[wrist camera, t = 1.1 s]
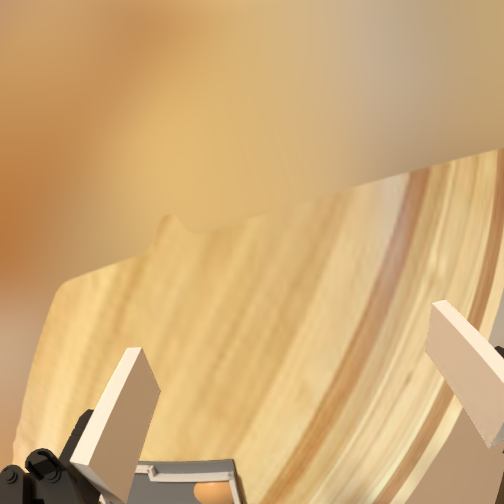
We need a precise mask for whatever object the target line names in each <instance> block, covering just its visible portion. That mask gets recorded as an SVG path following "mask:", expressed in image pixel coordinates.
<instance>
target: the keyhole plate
mask: <svg viewBox="0 0 504 504" xmlns="http://www.w3.org/2000/svg"><path fill="white" fill-rule="evenodd" d="M100 500H101V502H102V504H121V503H115V502H110V501H108V500H107V499H106V498H104V497H103V496H102V495H100ZM126 504H243V503H242V499H241V494H240V490H239V486H238V481H237V477H236V473H235V468H234V463H233V459H225V460H210V461H186V462H153V461H138V464H137V468H136V471H135V474H134V478H133V481H132V485H131V488H130V491H129V495H128V498H127V502H126Z"/></svg>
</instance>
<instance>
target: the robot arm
mask: <svg viewBox="0 0 504 504" xmlns="http://www.w3.org/2000/svg"><path fill="white" fill-rule="evenodd" d="M425 352H426V353H427V354H428V356H429V357H430V359H431V360H432V361H433V363H434V364H435V366H436V367H437V369H438V370H439V371H440V373H441V374H442V376H443V377H444V379H445V380H446V382H447V383H448V385H449V386H450V388H451V389H452V391H453V392H454V394H455V395H456V397H457V398H458V400H459V401H460V403H461V404H462V406H463V408H464V409H465V411H466V412H467V414H468V415H469V417H470V419H471V420H472V422H473V423H474V425H475V427H476V428H477V430H478V431H479V433H480V435H481V436H482V438H483V440H484V441H485V443H486V445H487V446H488V448H490V447H492V446H494V445H496V444H498V443H500V442H501V441H503V440H504V348H502V347H500V346H497V347H495V348H493V347H492V346H491V345H490V344H489V343H488V342H487V341H486V339H485V338H484V337H483V336H482V335H481V334H480V333H479V332H478V331H477V330H476V329H475V328H474V327H473V326H472V325H471V324H470V323H469V322H468V321H467V320H466V319H465V318H464V317H463V316H462V315H461V314H460V313H459V312H458V311H457V310H456V309H455V308H454V307H453V306H451V305H450V304H449V303H448V302H447V301H446V300H442V301H438V302H434V303H432V308H431V316H430V324H429V331H428V337H427V343H426V349H425ZM160 392H161V391H160V388H159V386H158V384H157V382H156V379H155V377H154V375H153V372H152V370H151V368H150V365H149V363H148V361H147V358H146V356H145V353H144V351H143V348H142V347H136V348H127V350H126V351H125V353H124V355H123V357H122V359H121V360H120V362H119V364H118V366H117V368H116V370H115V372H114V373H113V375H112V377H111V379H110V381H109V383H108V385H107V387H106V389H105V390H104V392H103V394H102V396H101V398H100V400H99V402H98V404H97V406H96V408H95V410H90V409H88V410H87V411H86V412H85V413H84V414H83V415H82V416H81V417H80V418H79V420H78V422H77V424H76V425H75V429H73V431H72V433H71V436H70V437H69V439H68V441H67V443H66V445H65V447H64V449H63V451H62V453H61V455H60V457H59V459H58V458H57V457H56V456H55V455H54V454H53V453H52V452H51V451H50V450H48V449H44V448H41V449H37V450H35V451H33V452H31V454H30V455H29V456H28V457H27V459H26V461H25V468H26V469H27V470H28V471H29V472H30V473H25V472H24V471H23V470H22V469H21V468H20V467H19V466H17V465H9V466H7V467H6V468H4V469H3V470H2V472H1V473H0V504H101V502H100V501H99V498H100V495H102V496H103V497H104V498H106V499H107V500H108V501H110V502H115V503H121V504H126V502H127V498H128V495H129V491H130V488H131V485H132V481H133V478H134V474H135V471H136V468H137V464H138V461H139V458H140V455H141V451H142V448H143V445H144V442H145V438H146V435H147V432H148V429H149V426H150V423H151V420H152V417H153V413H154V410H155V407H156V404H157V401H158V398H159V395H160ZM503 453H504V451H503ZM495 504H504V473H503V477H502V481H501V485H500V488H499V492H498V495H497V499H496V502H495Z"/></svg>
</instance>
